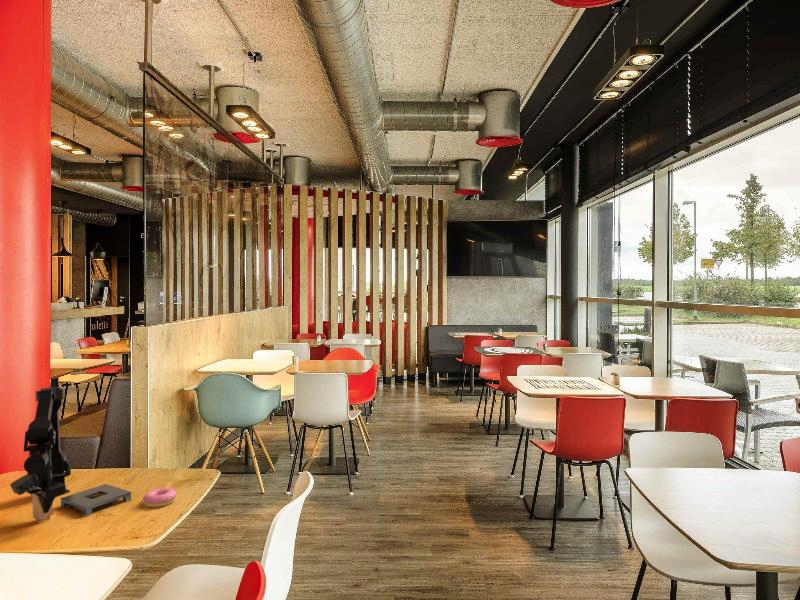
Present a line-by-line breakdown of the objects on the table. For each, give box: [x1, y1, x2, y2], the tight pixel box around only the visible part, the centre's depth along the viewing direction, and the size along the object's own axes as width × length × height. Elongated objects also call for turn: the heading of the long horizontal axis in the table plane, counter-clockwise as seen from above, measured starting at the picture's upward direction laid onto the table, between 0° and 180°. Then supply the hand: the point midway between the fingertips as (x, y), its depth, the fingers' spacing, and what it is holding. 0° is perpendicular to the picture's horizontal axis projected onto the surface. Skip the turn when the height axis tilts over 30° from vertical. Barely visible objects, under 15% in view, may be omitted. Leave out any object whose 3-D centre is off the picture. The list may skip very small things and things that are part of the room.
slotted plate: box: [60, 483, 132, 517], centre depth 199 cm, size 16×16×3 cm
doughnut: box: [142, 487, 177, 508], centre depth 199 cm, size 11×11×4 cm
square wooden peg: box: [31, 491, 54, 523], centre depth 185 cm, size 4×4×10 cm
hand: (43, 511), depth 185 cm, fingers closed on square wooden peg, 3 cm apart
